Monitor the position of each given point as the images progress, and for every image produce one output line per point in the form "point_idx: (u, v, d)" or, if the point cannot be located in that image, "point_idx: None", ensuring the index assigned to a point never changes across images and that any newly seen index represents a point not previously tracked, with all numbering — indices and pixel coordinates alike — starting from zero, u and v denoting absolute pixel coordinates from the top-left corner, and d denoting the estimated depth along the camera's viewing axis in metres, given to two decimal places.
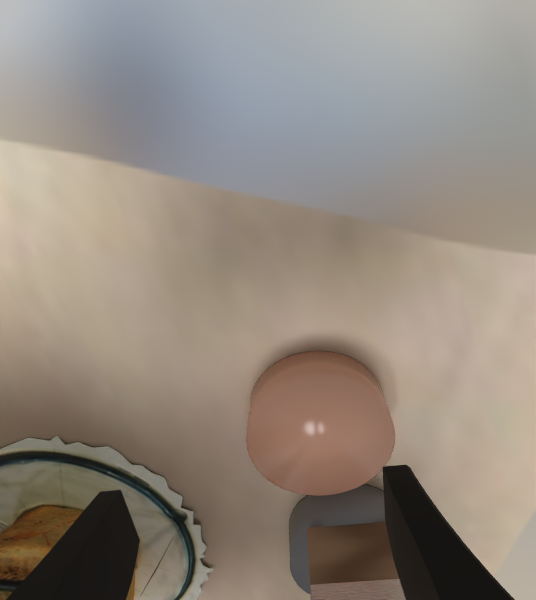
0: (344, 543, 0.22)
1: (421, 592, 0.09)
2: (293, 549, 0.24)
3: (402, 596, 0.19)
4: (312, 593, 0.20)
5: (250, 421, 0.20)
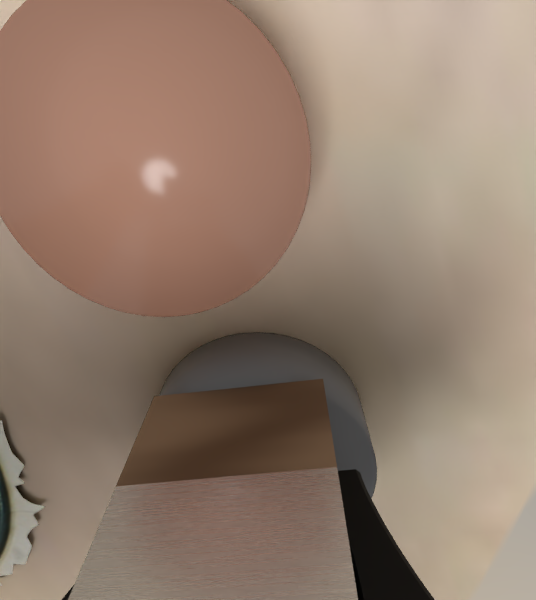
0: (217, 415, 0.11)
1: None
2: None
3: (317, 502, 0.08)
4: (113, 502, 0.09)
5: None
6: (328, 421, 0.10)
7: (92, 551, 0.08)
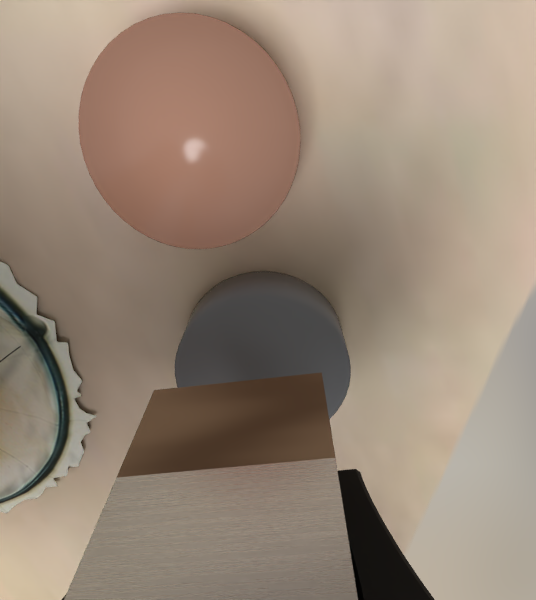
0: (217, 408, 0.11)
1: (357, 595, 0.09)
2: None
3: (315, 491, 0.08)
4: (113, 493, 0.09)
5: (81, 105, 0.14)
6: (326, 413, 0.10)
7: (93, 540, 0.08)
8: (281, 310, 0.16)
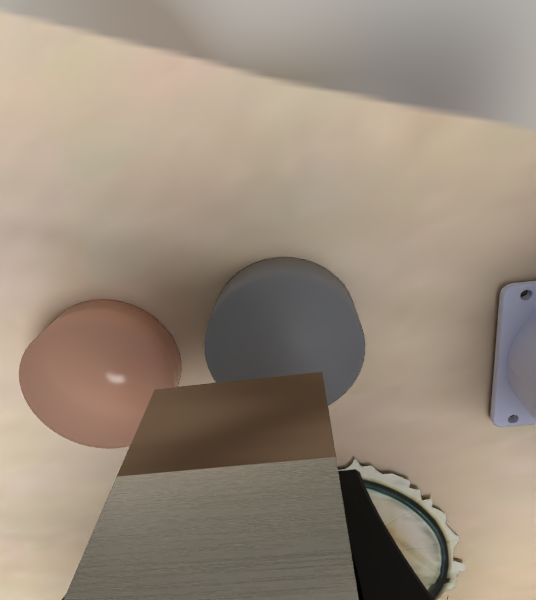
0: (217, 407, 0.11)
1: None
2: None
3: (316, 490, 0.08)
4: (114, 492, 0.09)
5: (84, 443, 0.22)
6: (327, 413, 0.10)
7: (93, 539, 0.08)
8: (217, 336, 0.19)
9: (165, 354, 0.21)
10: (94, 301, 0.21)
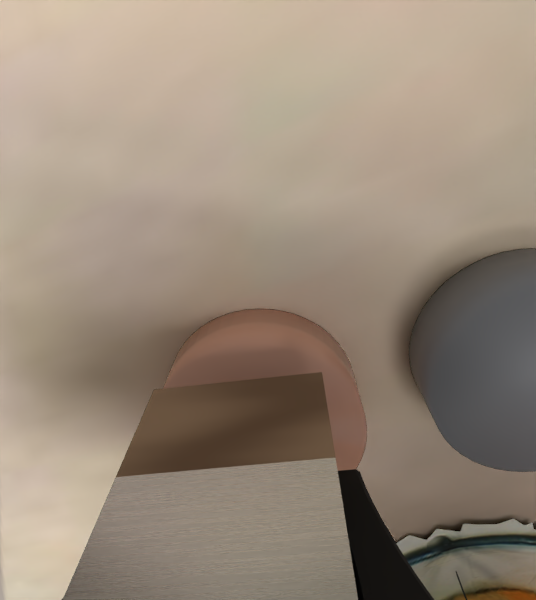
0: (216, 407, 0.11)
1: (358, 595, 0.09)
2: (489, 464, 0.15)
3: (315, 491, 0.08)
4: (113, 492, 0.09)
5: None
6: (327, 413, 0.10)
7: (92, 540, 0.08)
8: (455, 363, 0.13)
9: (355, 386, 0.15)
10: (251, 311, 0.15)
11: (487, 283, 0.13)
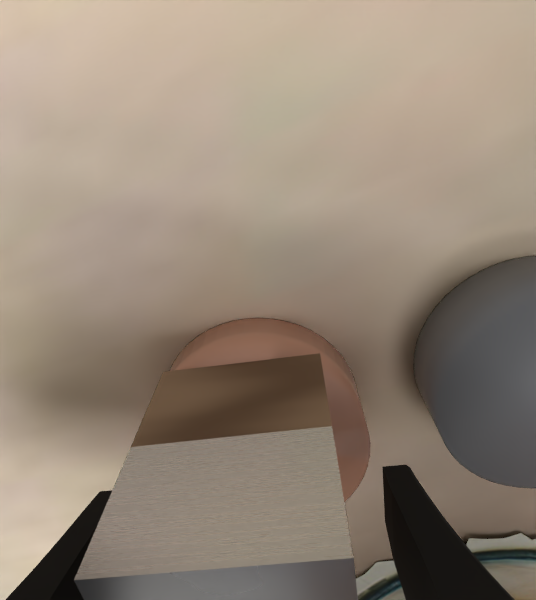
0: (222, 386, 0.11)
1: (421, 591, 0.09)
2: (497, 481, 0.14)
3: (313, 454, 0.09)
4: (128, 460, 0.09)
5: None
6: (324, 388, 0.11)
7: (112, 499, 0.09)
8: (463, 376, 0.12)
9: (358, 399, 0.14)
10: (249, 320, 0.14)
11: (497, 292, 0.12)
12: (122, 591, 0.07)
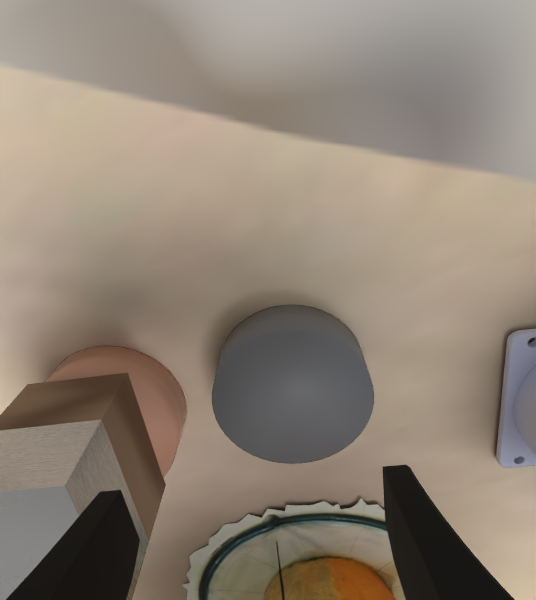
0: (57, 394, 0.18)
1: (421, 592, 0.09)
2: (268, 458, 0.20)
3: (80, 435, 0.15)
4: None
5: None
6: (113, 396, 0.17)
7: None
8: (224, 387, 0.19)
9: (171, 402, 0.20)
10: (99, 348, 0.21)
11: (247, 332, 0.19)
12: None
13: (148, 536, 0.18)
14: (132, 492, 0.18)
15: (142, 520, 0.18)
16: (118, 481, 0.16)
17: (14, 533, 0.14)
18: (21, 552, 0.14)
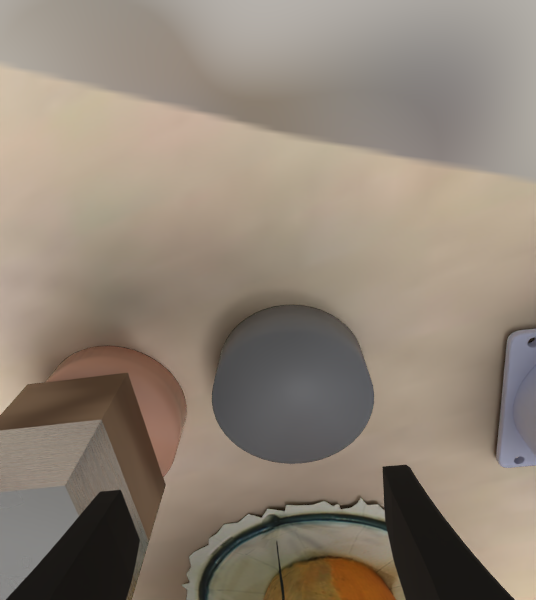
0: (57, 394, 0.18)
1: (421, 592, 0.09)
2: (268, 458, 0.20)
3: (80, 435, 0.15)
4: None
5: None
6: (113, 396, 0.17)
7: None
8: (224, 387, 0.19)
9: (171, 402, 0.20)
10: (99, 348, 0.21)
11: (247, 332, 0.19)
12: None
13: (148, 536, 0.18)
14: (132, 492, 0.18)
15: (142, 520, 0.18)
16: (118, 481, 0.16)
17: (14, 533, 0.14)
18: (21, 552, 0.14)
